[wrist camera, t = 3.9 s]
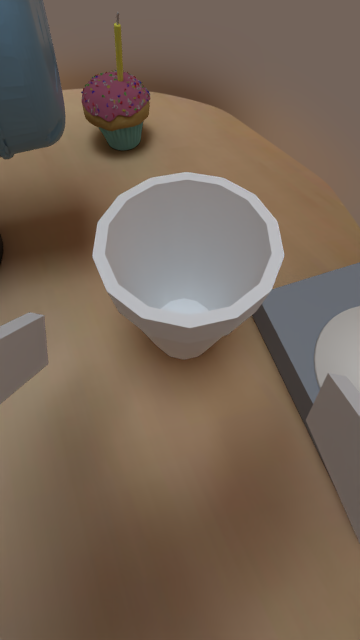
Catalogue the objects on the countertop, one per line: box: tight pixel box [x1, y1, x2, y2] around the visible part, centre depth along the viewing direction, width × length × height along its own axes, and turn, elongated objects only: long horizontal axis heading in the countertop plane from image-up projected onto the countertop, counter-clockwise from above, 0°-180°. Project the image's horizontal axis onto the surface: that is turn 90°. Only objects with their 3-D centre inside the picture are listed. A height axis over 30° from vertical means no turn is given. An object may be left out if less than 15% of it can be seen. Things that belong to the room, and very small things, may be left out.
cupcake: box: [81, 12, 150, 150], centre depth 29 cm, size 9×8×12 cm
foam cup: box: [92, 172, 284, 360], centre depth 18 cm, size 10×9×13 cm
